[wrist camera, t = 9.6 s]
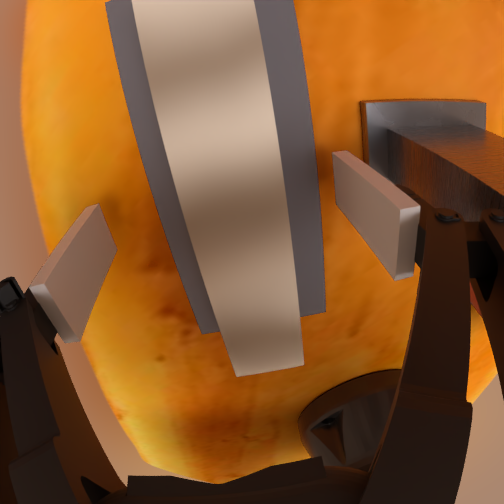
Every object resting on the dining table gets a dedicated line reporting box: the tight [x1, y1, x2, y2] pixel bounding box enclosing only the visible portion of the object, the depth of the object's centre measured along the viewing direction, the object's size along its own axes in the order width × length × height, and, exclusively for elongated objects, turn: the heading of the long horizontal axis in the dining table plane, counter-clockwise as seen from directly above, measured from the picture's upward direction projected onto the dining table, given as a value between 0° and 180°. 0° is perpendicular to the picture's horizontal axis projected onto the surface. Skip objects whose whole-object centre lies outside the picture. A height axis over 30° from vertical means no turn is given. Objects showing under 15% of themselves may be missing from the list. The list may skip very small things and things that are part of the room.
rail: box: [132, 0, 304, 377], centre depth 15 cm, size 20×4×5 cm, turn 10°
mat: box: [105, 0, 326, 334], centre depth 17 cm, size 22×9×1 cm, turn 10°
